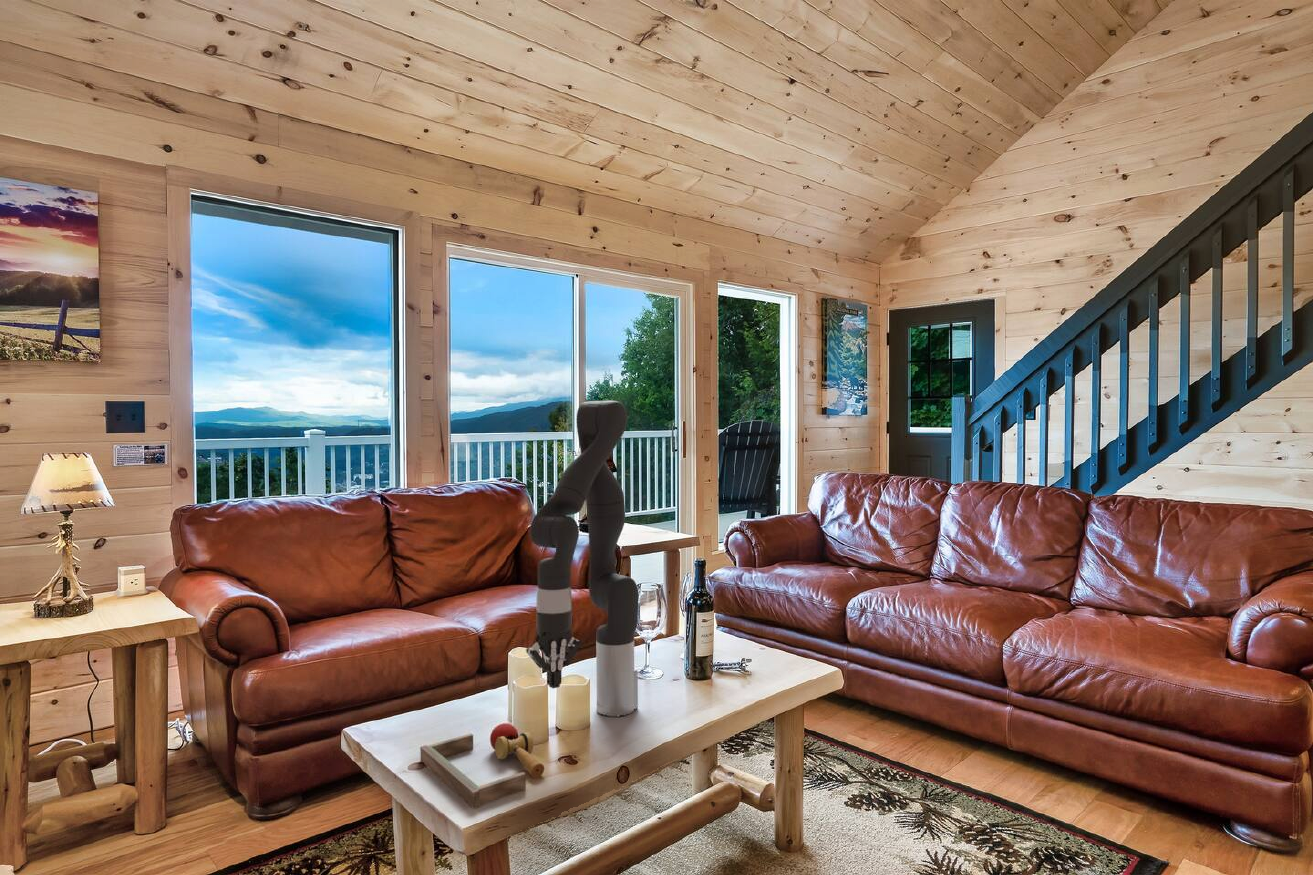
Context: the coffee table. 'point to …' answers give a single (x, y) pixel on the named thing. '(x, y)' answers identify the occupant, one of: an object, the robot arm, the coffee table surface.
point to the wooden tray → (462, 783)
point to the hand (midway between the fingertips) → (554, 686)
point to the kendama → (515, 747)
